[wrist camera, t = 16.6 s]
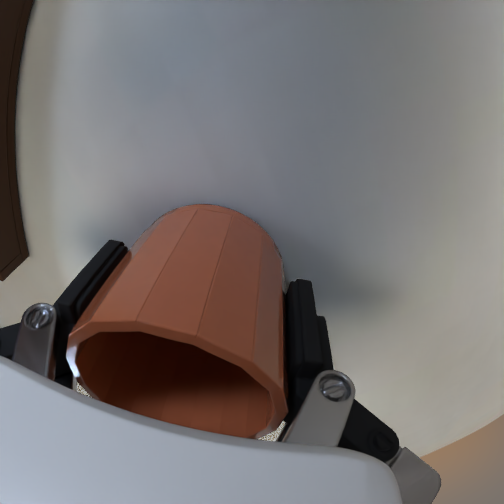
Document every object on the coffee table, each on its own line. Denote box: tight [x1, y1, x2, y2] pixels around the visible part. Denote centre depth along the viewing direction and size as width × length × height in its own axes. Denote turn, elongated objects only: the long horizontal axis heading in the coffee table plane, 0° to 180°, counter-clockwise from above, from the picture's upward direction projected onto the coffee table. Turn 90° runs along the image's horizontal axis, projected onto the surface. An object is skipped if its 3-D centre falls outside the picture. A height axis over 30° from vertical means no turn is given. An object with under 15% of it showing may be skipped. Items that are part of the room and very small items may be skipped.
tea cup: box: [66, 204, 289, 439], centre depth 10 cm, size 6×6×6 cm
